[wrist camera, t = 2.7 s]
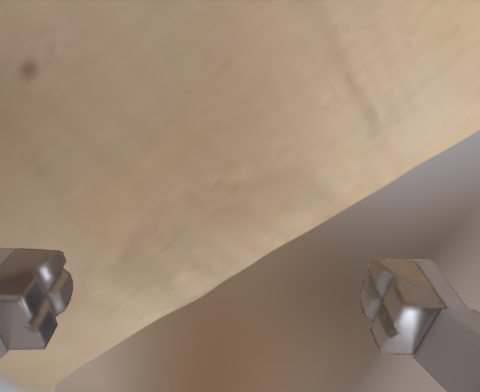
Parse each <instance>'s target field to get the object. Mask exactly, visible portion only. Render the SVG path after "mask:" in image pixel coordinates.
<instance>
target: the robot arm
mask: <svg viewBox="0 0 480 392" xmlns="http://www.w3.org/2000/svg"><path fill="white" fill-rule="evenodd" d="M65 263H66V259H65V256H64V254H63V252H61V251H59V250H43V249H23V248H19V249H14V248H0V358H2V357H3V356H4V355H5V354H6V353H7V352H8V350H29V349H45V348H46V346H47V344H48V342H49V340H50V338H51V337H52V335H53V333H54V331H55V329H56V327H57V325H58V324H57V321H56V316H58V315H59V314H60V313H62V312H63V311H65V310H66V308H67V306H68V304H69V302H70V300H71V296H72V291H73V280H72V277H71V274H70V273H69V272H68V271H66V270H65V269H64V268H63V266H64V265H65ZM367 270H368V272H369V274H370V276H368V277H367V278H366V279H364V280H363V281H362V284H361V288H360V303H361V307H362V310H363V313H364V315H365V316H366V317H367V318H368V319H369V320H371V321H372V322H373V325H372V328H371V333H372V335H373V337H374V340H375V342H376V344H377V347H378V349H379V352H380V354H397V355H414V356H413V357H414V358H415V360H416V361H418V363H420V364H421V366H423V368H424V369H426V371H427V372H428V373H429V374H430V375H431V376H432V377H433V378H434V379H435V380H436V381H437V382H439V384H440V385H441V386H442V387H443V388H444V389H445V390H446V391H447V392H480V312H478V311H477V310H472V309H471V310H470V309H469V308H468V307H467V306H466V304H465V303H464V302H463V300H462V299H461V298H460V296H459V295H458V294H457V292H456V291H455V290H454V288H453V287H452V286H451V284H450V283H449V282H448V280H447V279H446V278H445V276H444V275H443V274H442V272H441V271H440V270H439V268H438V267H437V265H436V264H435V263H434V262H432V261H431V260H429V259H410V260H408V259H372V261H370V263H369V266H368V268H367Z"/></svg>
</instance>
